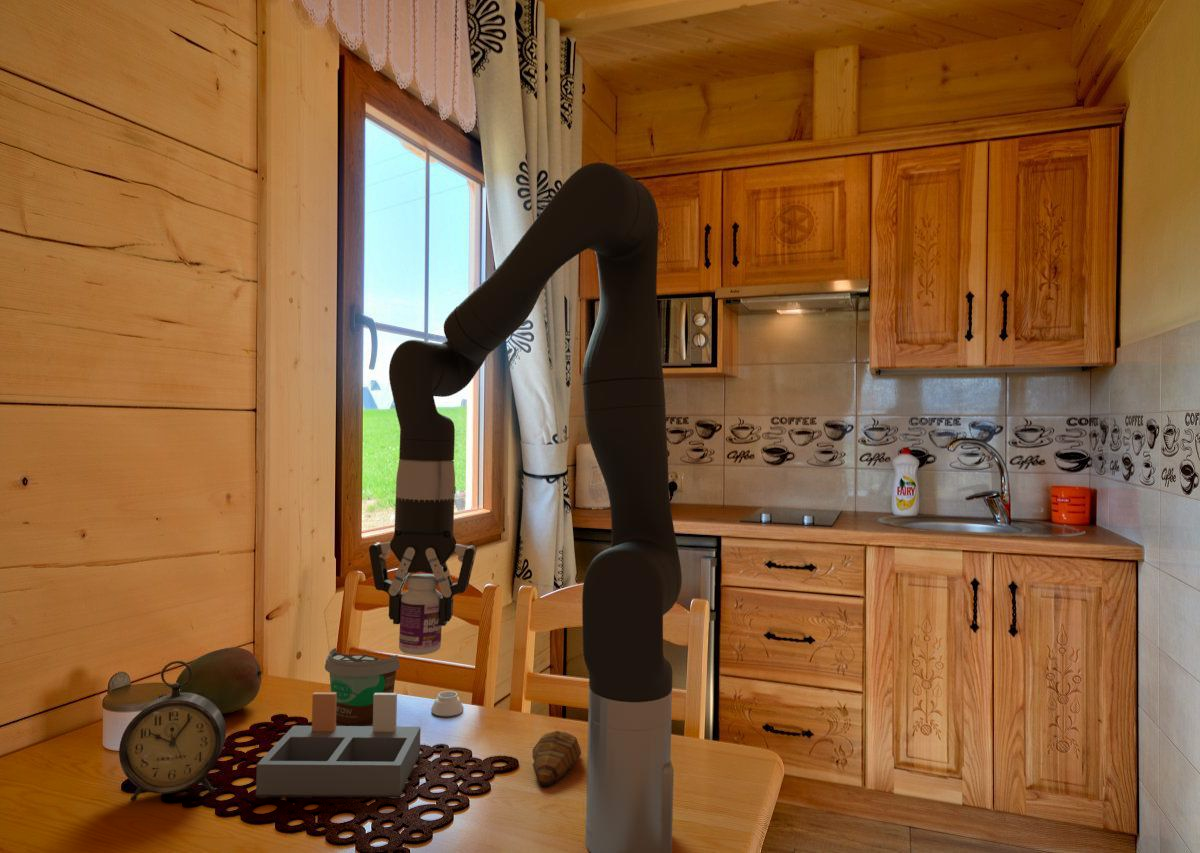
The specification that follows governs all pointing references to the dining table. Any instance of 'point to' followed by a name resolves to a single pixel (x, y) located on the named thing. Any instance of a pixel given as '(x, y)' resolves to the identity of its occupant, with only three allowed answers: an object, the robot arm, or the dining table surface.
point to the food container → (359, 684)
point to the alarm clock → (172, 742)
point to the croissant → (554, 756)
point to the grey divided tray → (341, 755)
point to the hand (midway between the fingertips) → (420, 623)
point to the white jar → (447, 704)
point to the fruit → (224, 678)
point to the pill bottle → (420, 616)
